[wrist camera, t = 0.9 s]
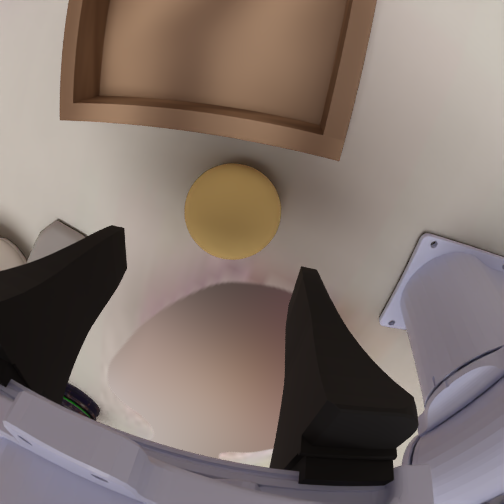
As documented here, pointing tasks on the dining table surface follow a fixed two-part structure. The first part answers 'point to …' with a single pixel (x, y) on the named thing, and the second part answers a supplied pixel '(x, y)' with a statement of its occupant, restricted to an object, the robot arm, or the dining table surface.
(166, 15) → the tray
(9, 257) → the lidded jar
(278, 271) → the dining table surface
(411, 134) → the dining table surface
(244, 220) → the ball
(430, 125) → the dining table surface
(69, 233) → the flask
